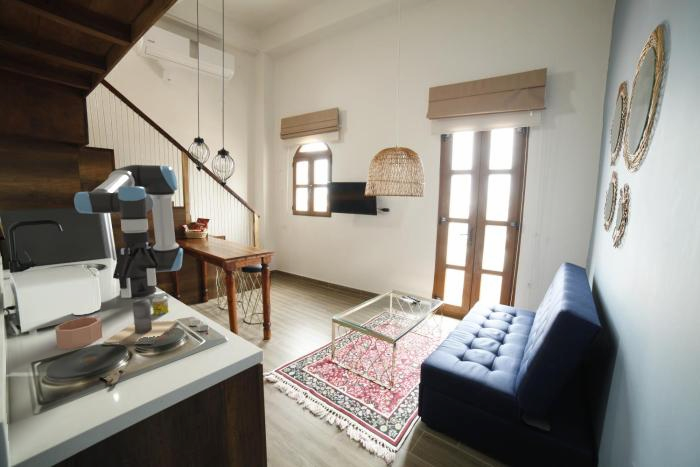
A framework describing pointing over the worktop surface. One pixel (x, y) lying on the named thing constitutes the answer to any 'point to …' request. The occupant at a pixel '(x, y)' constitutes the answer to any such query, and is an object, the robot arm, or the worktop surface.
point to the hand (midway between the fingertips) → (140, 291)
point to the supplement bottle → (160, 303)
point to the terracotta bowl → (78, 332)
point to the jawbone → (114, 376)
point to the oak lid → (141, 325)
